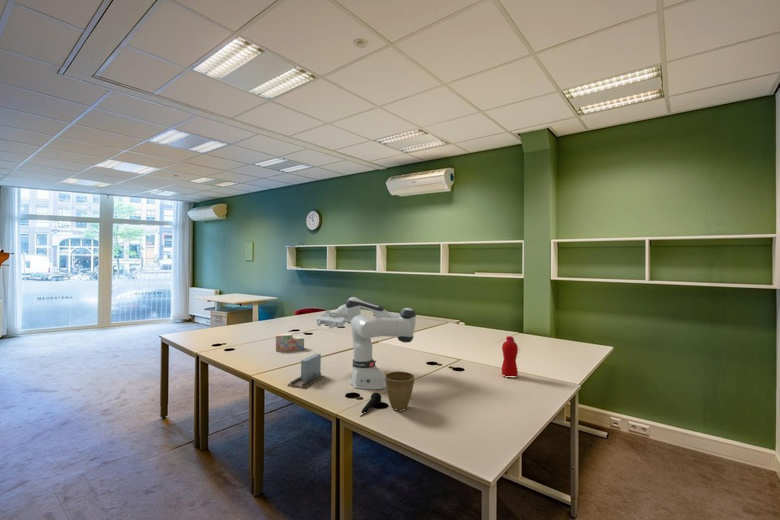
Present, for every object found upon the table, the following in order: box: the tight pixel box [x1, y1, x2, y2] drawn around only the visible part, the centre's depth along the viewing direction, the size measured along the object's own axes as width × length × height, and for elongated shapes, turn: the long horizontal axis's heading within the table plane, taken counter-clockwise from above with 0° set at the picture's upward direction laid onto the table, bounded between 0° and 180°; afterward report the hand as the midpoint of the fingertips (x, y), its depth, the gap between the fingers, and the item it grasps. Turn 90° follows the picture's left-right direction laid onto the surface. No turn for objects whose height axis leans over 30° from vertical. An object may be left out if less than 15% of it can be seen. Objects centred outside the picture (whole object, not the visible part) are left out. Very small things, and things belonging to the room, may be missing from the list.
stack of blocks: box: [275, 333, 305, 352], centre depth 287 cm, size 21×6×12 cm, turn 104°
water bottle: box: [501, 336, 521, 377], centre depth 230 cm, size 9×11×25 cm
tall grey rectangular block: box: [300, 353, 322, 381], centre depth 222 cm, size 4×16×12 cm, turn 159°
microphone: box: [360, 392, 382, 414], centre depth 180 cm, size 6×6×20 cm
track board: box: [287, 372, 325, 389], centre depth 217 cm, size 12×20×2 cm, turn 160°
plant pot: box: [384, 371, 415, 411], centre depth 181 cm, size 15×15×16 cm
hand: (324, 326), depth 235 cm, fingers open, 8 cm apart
